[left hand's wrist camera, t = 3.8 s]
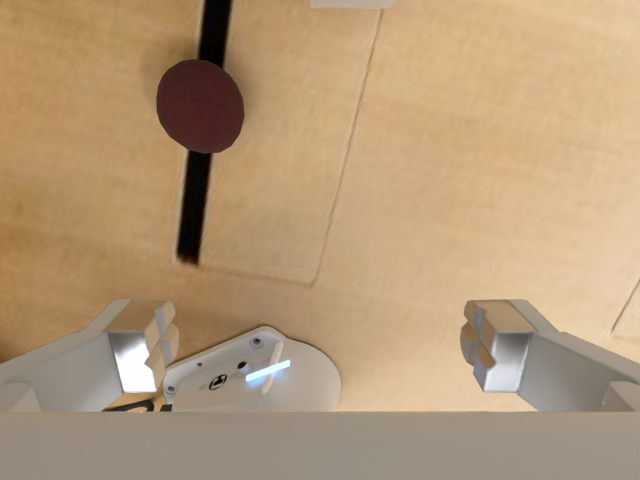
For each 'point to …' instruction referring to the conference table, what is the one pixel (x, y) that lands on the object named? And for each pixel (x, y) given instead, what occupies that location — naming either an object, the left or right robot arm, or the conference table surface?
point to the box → (352, 3)
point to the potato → (200, 106)
